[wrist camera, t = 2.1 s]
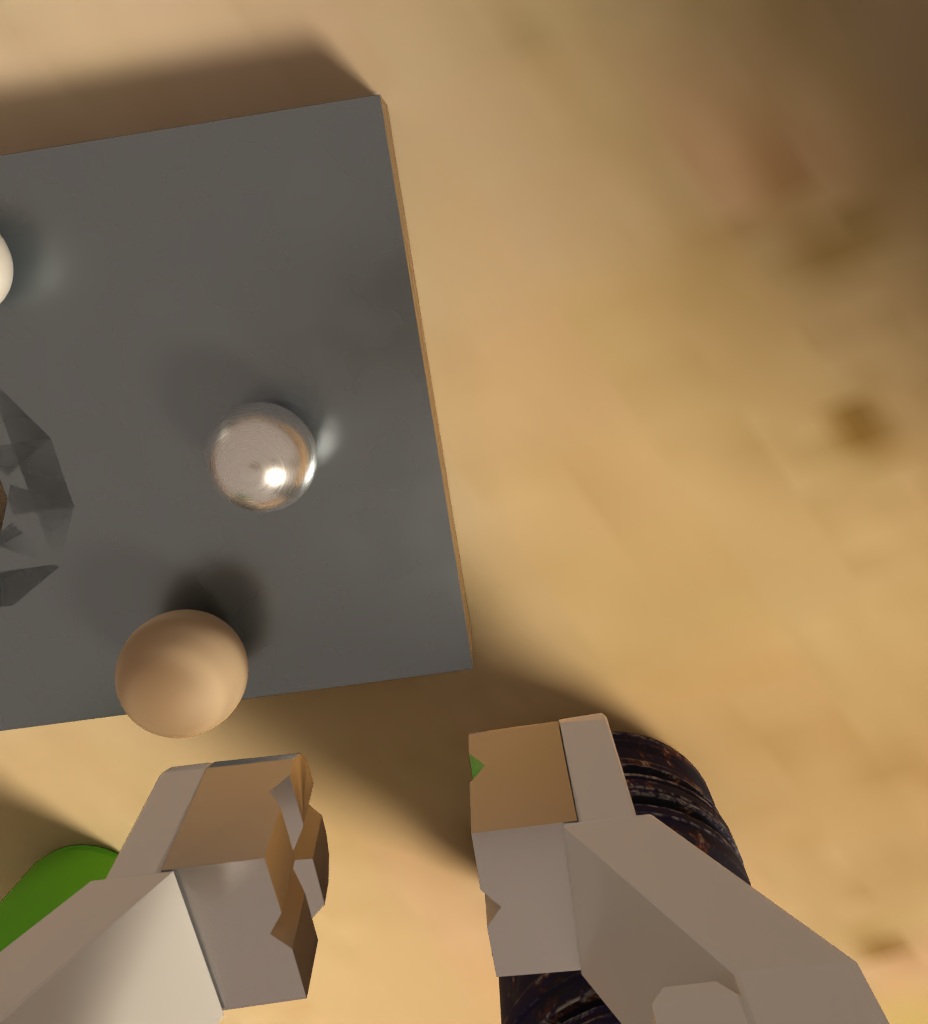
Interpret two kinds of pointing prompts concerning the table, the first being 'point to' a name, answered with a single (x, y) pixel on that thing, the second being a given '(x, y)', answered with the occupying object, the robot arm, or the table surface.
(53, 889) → the cup
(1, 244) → the plastic ball
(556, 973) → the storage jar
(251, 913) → the robot arm
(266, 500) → the steel ball
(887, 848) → the table surface
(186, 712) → the wood ball
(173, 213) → the plate
